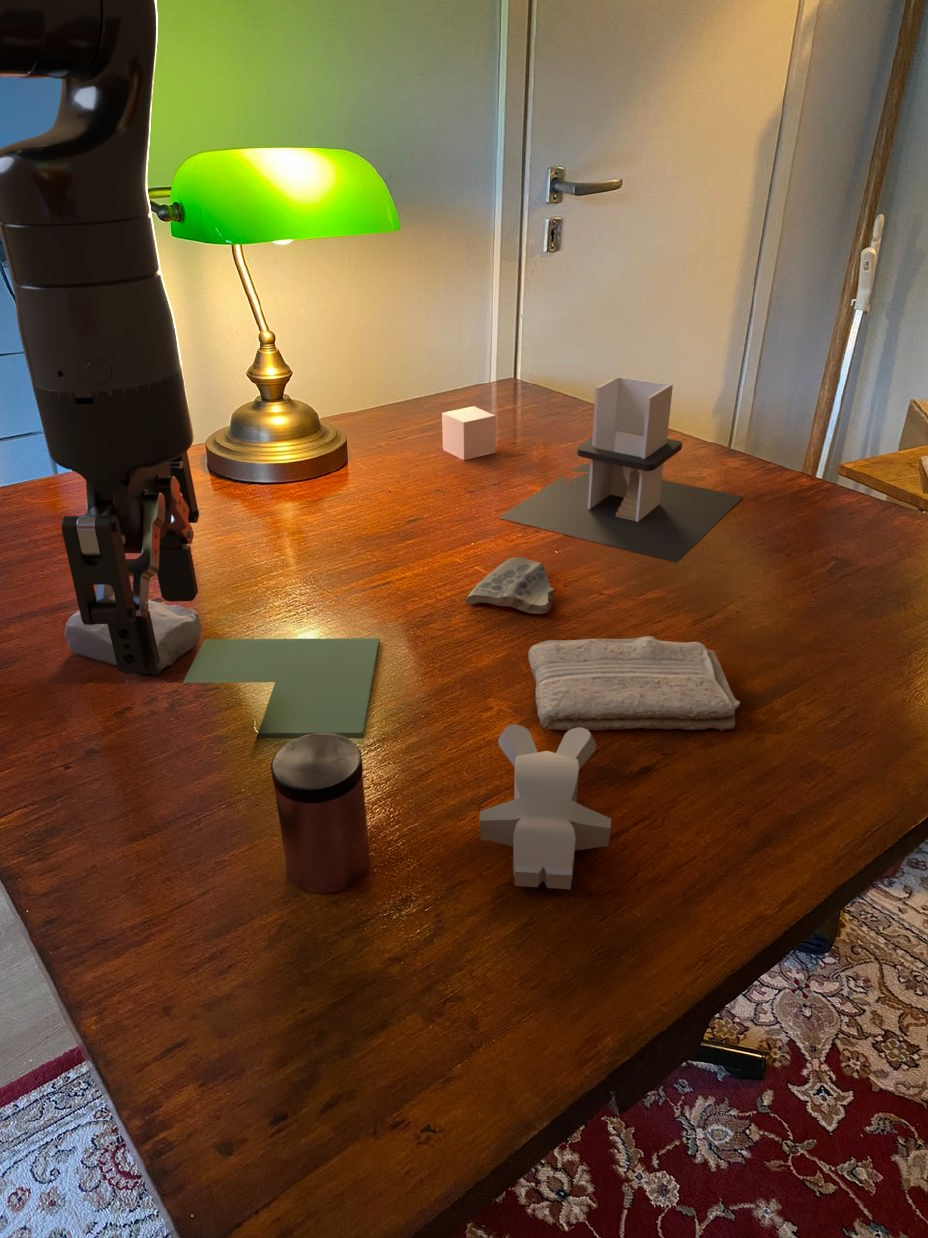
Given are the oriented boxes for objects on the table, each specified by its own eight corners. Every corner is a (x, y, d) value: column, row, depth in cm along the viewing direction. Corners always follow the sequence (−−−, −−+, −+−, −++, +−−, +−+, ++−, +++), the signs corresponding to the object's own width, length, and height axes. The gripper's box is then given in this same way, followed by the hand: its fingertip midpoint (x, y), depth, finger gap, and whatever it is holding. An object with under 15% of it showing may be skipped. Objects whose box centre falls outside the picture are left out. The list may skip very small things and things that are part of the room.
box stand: (497, 517, 120) (498, 395, 112) (581, 463, 138) (587, 354, 130) (676, 562, 108) (691, 428, 100) (743, 496, 126) (761, 378, 118)
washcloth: (743, 733, 79) (748, 704, 77) (538, 738, 79) (539, 708, 77) (708, 660, 89) (712, 633, 88) (526, 664, 89) (527, 637, 88)
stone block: (130, 626, 100) (57, 654, 91) (129, 585, 98) (55, 609, 89) (217, 653, 95) (149, 685, 87) (218, 611, 94) (148, 639, 85)
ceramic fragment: (543, 613, 94) (460, 580, 98) (538, 637, 96) (457, 604, 100) (584, 571, 102) (506, 542, 106) (579, 594, 104) (503, 565, 108)
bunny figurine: (473, 853, 61) (489, 704, 73) (474, 900, 64) (489, 750, 76) (615, 862, 60) (608, 710, 72) (609, 909, 63) (603, 756, 75)
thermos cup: (279, 895, 64) (262, 789, 59) (293, 833, 69) (279, 732, 64) (366, 894, 63) (356, 789, 59) (374, 833, 69) (365, 732, 64)
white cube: (464, 460, 140) (463, 422, 137) (442, 449, 144) (441, 412, 141) (495, 452, 143) (495, 415, 140) (473, 442, 147) (473, 405, 144)
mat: (158, 738, 79) (157, 733, 79) (204, 643, 93) (204, 639, 93) (363, 737, 79) (363, 732, 79) (379, 642, 93) (379, 637, 93)
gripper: (85, 336, 54) (137, 580, 62) (-29, 406, 41) (55, 700, 49) (211, 334, 54) (247, 578, 62) (135, 404, 41) (192, 698, 49)
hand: (161, 632), depth 56 cm, fingers open, 8 cm apart
